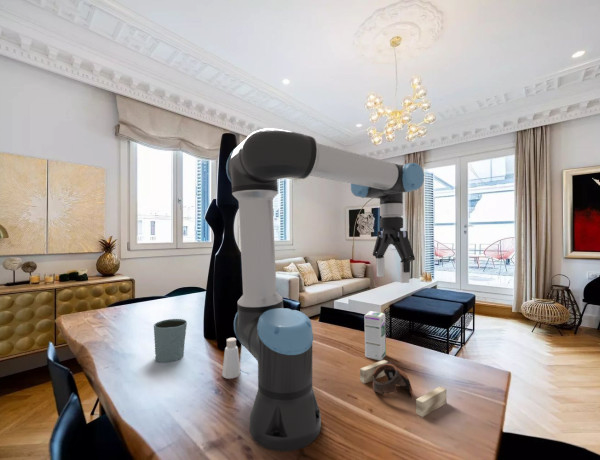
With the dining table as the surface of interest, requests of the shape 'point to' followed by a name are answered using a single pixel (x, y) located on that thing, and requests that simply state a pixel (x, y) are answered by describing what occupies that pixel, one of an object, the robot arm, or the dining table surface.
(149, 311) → the dining table surface
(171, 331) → the green planter pot
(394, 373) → the pottery mug
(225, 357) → the pepper shaker
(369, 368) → the rail cradle
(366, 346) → the syrup box
